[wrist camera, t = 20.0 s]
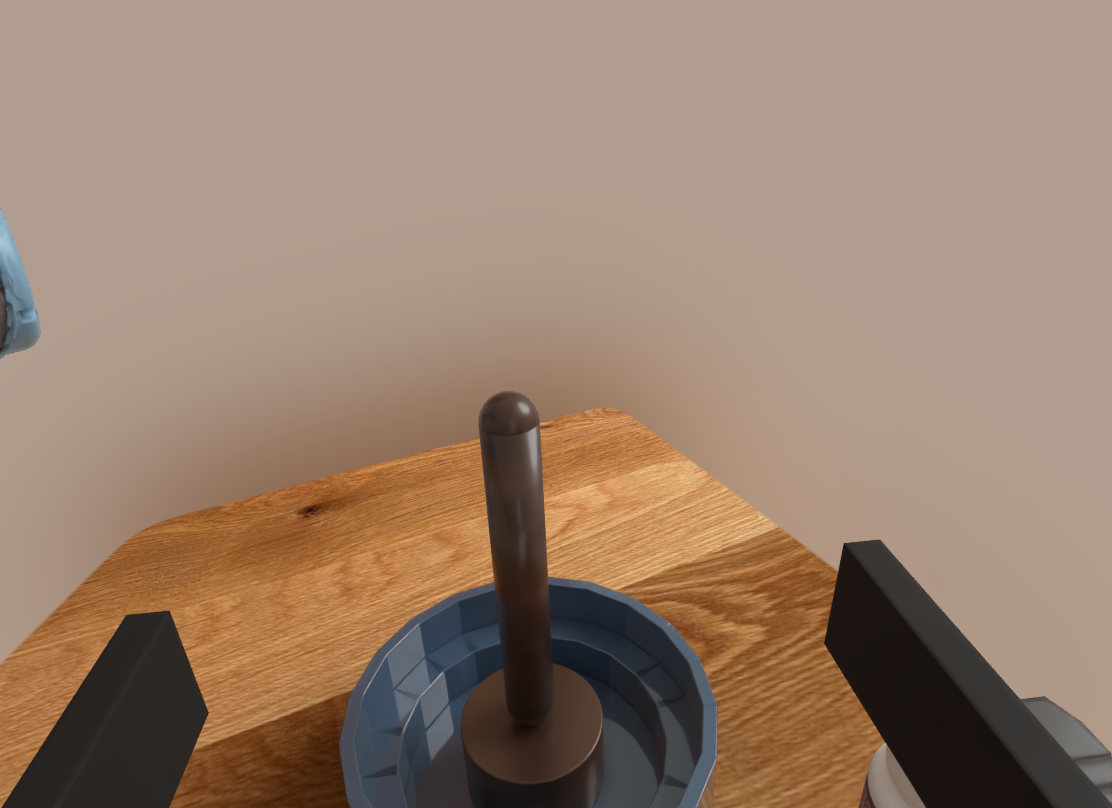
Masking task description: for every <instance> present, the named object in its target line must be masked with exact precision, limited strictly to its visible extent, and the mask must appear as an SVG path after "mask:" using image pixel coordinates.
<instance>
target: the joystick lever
mask: <svg viewBox="0 0 1112 808" xmlns="http://www.w3.org/2000/svg"><path fill="white" fill-rule="evenodd" d="M479 433H480V443H481V453H482V463H483V473H484V483H485V493H486V504H487V514H488V524H489V534H490V544H491V554H492V564H493V574H494V584H495V594H496V604H497V614H498V624H499V634H500V644H501V654H502V664H503V668H502V669H500V670H498V671H496V672H495V673H493V674H491V675H490V676H488V677H487V678H486V679H484V680H483V681H482V682H481V683H480V684H479V685H478V686H477V687H476V688H475V690H474V691H473V692H472V694H471V695H470V697H469V698H468V700H467V702H466V704H465V706H464V709H463V713H462V717H461V725H460V731H461V739H462V746H463V753H464V760H465V766H466V773H467V780H468V787H469V792H470V796H471V799H472V801H473V803H474V806H475V807H476V808H592V807H593V806H594V804H595V802H596V801H597V799H598V796H599V794H600V791H601V788H602V783H603V775H604V757H603V712H602V707H601V704H600V701H599V698H598V696H597V694H596V692H595V691H594V689H593V688H592V687H591V685H590V684H589V683H588V682H587V681H586V680H585V679H584V678H583V677H582V676H580V675H579V674H578V673H576V672H574V671H573V670H571V669H569V668H567V667H564V666H561V665H558V664H555V663H553V660H552V642H551V623H550V605H549V587H548V568H547V550H546V531H545V513H544V494H543V476H542V457H541V439H540V421H539V414H538V411H537V409H536V407H535V405H534V404H533V402H532V401H531V400H530V399H529V398H528V397H526V396H524V395H523V394H521V393H518V392H514V391H504V392H500V393H497V394H495V395H493V396H492V397H490V398H489V399H488V400H487V401H486V402H485V404H484V405H483V407H482V409H481V411H480V414H479Z"/></svg>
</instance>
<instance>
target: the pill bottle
mask: <svg viewBox="0 0 1112 808" xmlns="http://www.w3.org/2000/svg"><path fill="white" fill-rule="evenodd" d="M859 808H926V807H925V806H924V804H923V802H922V801H921V799H920V798H919V796H918V794H917V793H916V791H915V789H914V788H913V786H912V785H911V783H910V781H909V780H908V778H907V777H906V775H905V773H904V772H903V770H902V768H901V767H900V765H899V764H898V762H897V760H896V759H895V757H894V755H893V754H892V752H891V751H890V749H889V747H888V746H887V744H886V743H884V744H883V745H882V746H881V747H880V748H879V749H878V750H877V751H876V753H875V754H874V756H873V758H872V760H871V763H870V766H869V769H868V773H867V777H866V781H865V785H864V789H863V793H862V797H861V800H860V804H859Z"/></svg>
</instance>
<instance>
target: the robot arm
mask: <svg viewBox="0 0 1112 808" xmlns="http://www.w3.org/2000/svg"><path fill="white" fill-rule="evenodd" d="M39 337H40V323H39V318H38V314H37V311H36V309H35V306H34V301H33V295H32V292H31V288H30V285H29V282H28V279H27V276H26V273H25V270H24V267H23V264H22V261H21V258H20V255H19V253H18V250H17V247H16V245H15V242H14V239H13V237H12V234H11V232H10V229H9V227H8V224H7V222H6V220H5V217H4V215H3V213H2V211H1V210H0V359H1V358H2V357H3V356H5V355H7V354H11V353H15V352H18V351H22V350H26V349H28V348H30V347H32V346H33V345H35V344H36V342H37V341H38V339H39ZM824 644H825V645H826V647H827V649H828V650H829V652H830V654H831V655H832V657H833V658H834V660H835V662H836V663H837V665H838V667H839V668H840V670H841V671H842V673H843V675H844V676H845V678H846V679H847V681H848V683H849V684H850V686H851V688H852V689H853V691H854V692H855V694H856V696H857V697H858V699H859V700H860V702H861V704H862V705H863V707H864V709H865V710H866V712H867V713H868V715H869V717H870V718H871V720H872V722H873V723H874V725H875V726H876V728H877V730H878V731H879V733H880V734H881V736H882V738H883V739H884V741H885V743H886V744H887V746H888V747H889V749H890V751H891V752H892V754H893V755H894V757H895V759H896V760H897V762H898V764H899V765H900V767H901V768H902V770H903V772H904V773H905V775H906V777H907V778H908V780H909V781H910V783H911V785H912V786H913V788H914V789H915V791H916V793H917V794H918V796H919V798H920V799H921V801H922V802H923V804H924V806H925V807H926V808H1112V756H1111V753H1110V752H1109V751H1108V749H1107V748H1106V747H1105V746H1104V745H1103V744H1102V743H1101V742H1100V741H1099V740H1098V739H1097V738H1096V737H1095V736H1094V735H1093V734H1092V732H1090V730H1089V729H1088V728H1087V727H1086V726H1085V725H1084V724H1083V723H1082V722H1081V721H1080V720H1078V719H1077V718H1075V717H1074V716H1072V715H1071V714H1069V713H1068V712H1067V711H1065V710H1064V709H1062V708H1061V707H1059V706H1058V705H1056V704H1055V703H1053V702H1052V701H1050V700H1049V699H1048V698H1046V697H1035V698H1028V699H1019V698H1018V696H1017V695H1016V694H1015V693H1014V692H1013V691H1012V690H1011V688H1010V687H1009V686H1008V685H1007V684H1006V683H1005V682H1004V680H1002V678H1001V677H1000V676H999V675H998V674H997V673H996V671H995V670H994V669H993V668H992V667H991V666H990V665H989V663H988V662H987V661H986V660H985V659H984V658H983V657H982V655H981V654H980V653H979V652H978V651H977V650H976V649H975V647H974V646H973V645H972V644H971V643H970V642H969V641H968V640H967V638H966V637H965V636H964V635H963V634H962V633H961V632H960V630H959V629H958V628H957V627H956V626H955V625H954V624H953V622H952V621H951V620H950V619H949V618H948V617H947V616H946V614H945V613H944V612H943V611H942V610H941V609H940V608H939V606H938V605H937V604H936V603H935V602H934V601H933V600H932V599H931V598H930V596H929V595H928V594H927V593H926V592H925V590H924V589H923V588H922V587H921V586H920V585H919V584H918V583H917V581H916V580H915V579H914V578H913V577H912V576H911V575H910V573H909V572H908V571H907V570H906V569H905V568H904V567H903V565H902V564H901V563H900V562H899V561H898V560H897V559H896V557H895V556H894V555H893V554H892V553H891V552H890V551H889V549H888V548H887V547H886V546H885V545H884V544H883V543H882V541H881V540H871V541H862V542H852V543H844V545H843V550H842V556H841V560H840V566H839V571H838V576H837V581H836V586H835V591H834V596H833V601H832V607H831V612H830V617H829V622H828V627H827V632H826V637H825V642H824ZM207 716H208V710H207V708H206V705H205V702H204V700H203V697H202V694H201V692H200V689H199V687H198V684H197V681H196V679H195V676H194V674H193V671H192V668H191V666H190V663H189V660H188V658H187V655H186V653H185V650H184V647H183V645H182V642H181V640H180V637H179V634H178V632H177V629H176V626H175V624H174V621H173V619H172V616H171V613H170V611H161V612H151V613H141V614H132V615H126V616H125V618H124V620H123V621H122V623H121V624H120V626H119V627H118V629H117V630H116V632H115V633H114V635H113V637H112V638H111V640H110V641H109V643H108V644H107V646H106V647H105V649H104V650H103V652H102V654H101V655H100V657H99V658H98V660H97V661H96V663H95V664H94V666H93V667H92V669H91V671H90V672H89V674H88V675H87V677H86V678H85V680H84V681H83V683H82V684H81V686H80V687H79V689H78V691H77V692H76V694H75V695H74V697H73V698H72V700H71V701H70V703H69V704H68V706H67V708H66V709H65V711H64V712H63V714H62V715H61V717H60V718H59V720H58V721H57V723H56V725H55V726H54V728H53V729H52V731H51V732H50V734H49V735H48V737H47V738H46V740H45V742H44V743H43V745H42V746H41V748H40V749H39V751H38V752H37V754H36V755H35V757H34V758H33V760H32V762H31V763H30V765H29V766H28V768H27V769H26V771H25V772H24V774H23V775H22V777H21V779H20V780H19V782H18V783H17V785H16V786H15V788H14V789H13V791H12V792H11V794H10V796H9V797H8V799H7V800H6V802H5V803H4V805H3V806H2V808H169V806H170V804H171V801H172V799H173V797H174V794H175V792H176V790H177V787H178V785H179V782H180V780H181V778H182V775H183V773H184V770H185V768H186V766H187V763H188V761H189V758H190V756H191V754H192V751H193V749H194V747H195V744H196V742H197V739H198V737H199V735H200V732H201V730H202V727H203V725H204V723H205V720H206V718H207Z"/></svg>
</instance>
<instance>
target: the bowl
mask: <svg viewBox="0 0 1112 808" xmlns="http://www.w3.org/2000/svg"><path fill="white" fill-rule="evenodd" d="M548 587H549V605H550V623H551V642H552V660H553V663H555V664H558V665H561V666H564V667H567V668H569V669H571V670H573V671H574V672H576V673H578V674H579V675H580V676H582V677H583V678H584V679H585V680H586V681H587V682H588V683H589V684H590V685H591V687H592V688H593V689H594V691H595V692H596V694H597V696H598V698H599V701H600V704H601V707H602V712H603V757H604V775H603V783H602V788H601V791H600V794H599V796H598V799H597V801H596V802H595V804H594V806H593V807H592V808H712V802H713V792H714V783H715V773H716V763H717V716H718V708H717V703H716V701H715V698H714V695H713V693H712V690H711V687H710V684H709V682H708V679H707V676H706V674H705V671H704V668H703V665H702V663H701V661H700V659H699V658H698V656H697V655H696V654H695V653H694V651H693V650H692V649H691V648H690V646H689V645H688V644H687V643H686V641H685V640H684V639H683V638H682V637H681V635H680V634H679V633H678V632H677V630H676V629H675V628H674V627H673V625H672V624H670V623H669V622H668V621H666V620H665V619H664V618H662V617H661V616H659V615H658V614H656V613H655V612H653V611H652V610H650V609H649V608H648V607H646V606H645V605H643V604H642V603H640V602H639V601H637V600H636V599H634V598H633V597H630V596H628V595H625V594H622V593H619V592H617V591H614V590H611V589H608V588H606V587H603V586H600V585H598V584H595V583H592V582H587V581H579V580H571V579H563V578H555V577H548ZM502 668H503V664H502V654H501V644H500V634H499V624H498V614H497V604H496V594H495V584H494V582H492V583H489V584H486V585H483V586H480V587H476V588H473V589H470V590H467V591H463V592H460V593H457V594H454V595H452V596H450V597H448V598H447V599H445V600H443V601H441V602H440V603H438V604H436V605H434V606H433V607H431V608H429V609H427V610H426V611H424V612H422V613H420V614H419V615H417V616H415V617H413V618H412V619H410V620H409V621H408V622H407V623H406V624H405V625H404V626H403V627H402V628H401V629H400V630H399V631H398V632H397V633H396V634H395V635H394V636H392V637H391V638H390V639H389V640H388V641H387V642H386V643H385V644H384V645H383V646H382V647H381V648H380V649H379V650H378V651H377V652H376V653H375V655H374V656H373V658H372V660H371V661H370V663H369V665H368V666H367V668H366V670H365V671H364V673H363V675H362V676H361V678H360V680H359V681H358V683H357V685H356V686H355V688H354V690H353V691H352V693H351V695H350V697H349V702H348V706H347V711H346V715H345V720H344V724H343V728H342V733H341V737H340V742H339V752H340V759H341V766H342V772H343V779H344V785H345V792H346V799H347V802H348V806H349V808H476V807H475V806H474V803H473V801H472V799H471V796H470V792H469V787H468V780H467V773H466V766H465V760H464V753H463V746H462V739H461V731H460V725H461V717H462V713H463V709H464V706H465V704H466V702H467V700H468V698H469V697H470V695H471V694H472V692H473V691H474V690H475V688H476V687H477V686H478V685H479V684H480V683H481V682H482V681H483V680H484V679H486V678H487V677H488V676H490V675H491V674H493V673H495V672H496V671H498V670H500V669H502Z"/></svg>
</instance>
